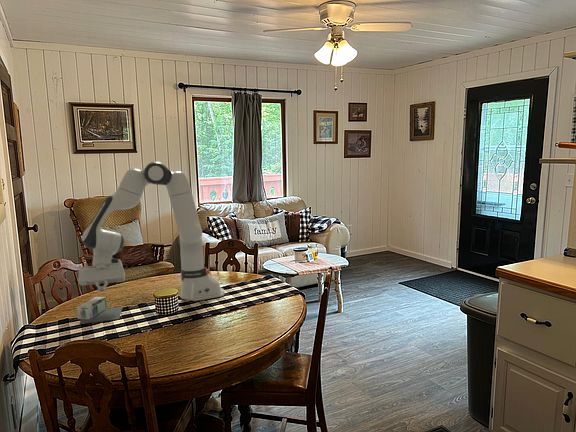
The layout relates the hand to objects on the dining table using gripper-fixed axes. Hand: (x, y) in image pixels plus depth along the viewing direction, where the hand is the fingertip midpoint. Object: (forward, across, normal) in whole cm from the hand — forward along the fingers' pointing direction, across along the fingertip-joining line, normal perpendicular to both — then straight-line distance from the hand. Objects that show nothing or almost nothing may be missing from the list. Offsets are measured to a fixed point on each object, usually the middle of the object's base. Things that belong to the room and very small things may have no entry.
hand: (101, 290), depth 196 cm
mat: (+10, 0, +4) cm, 11 cm away
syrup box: (+1, -1, +9) cm, 9 cm away
